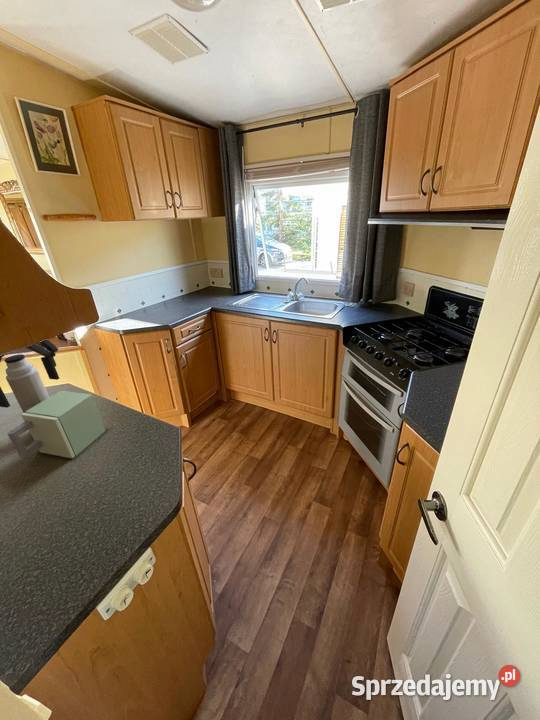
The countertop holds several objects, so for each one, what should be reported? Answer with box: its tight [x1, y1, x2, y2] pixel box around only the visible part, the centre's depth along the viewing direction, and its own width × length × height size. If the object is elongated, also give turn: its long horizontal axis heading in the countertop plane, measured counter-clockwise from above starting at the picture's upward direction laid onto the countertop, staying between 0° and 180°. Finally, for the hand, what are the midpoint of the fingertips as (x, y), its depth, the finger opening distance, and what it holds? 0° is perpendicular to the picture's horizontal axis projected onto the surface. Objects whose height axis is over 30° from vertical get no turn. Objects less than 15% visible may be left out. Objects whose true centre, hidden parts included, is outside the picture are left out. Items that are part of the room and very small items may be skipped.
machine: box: [25, 390, 106, 457], centre depth 92 cm, size 12×13×15 cm
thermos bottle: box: [4, 353, 50, 414], centre depth 96 cm, size 8×8×28 cm
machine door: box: [6, 412, 76, 460], centre depth 84 cm, size 7×13×14 cm, turn 75°
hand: (31, 391), depth 76 cm, fingers open, 13 cm apart
